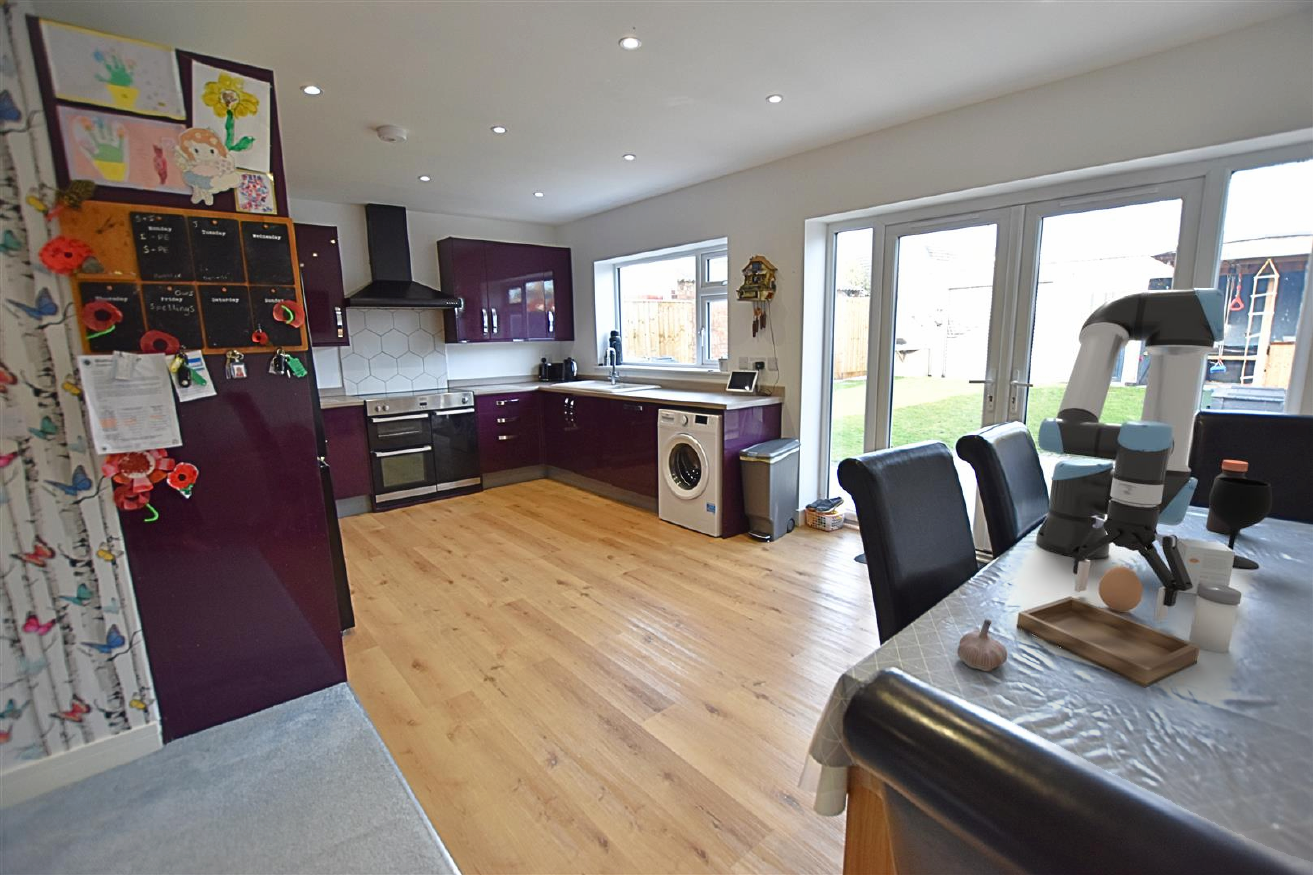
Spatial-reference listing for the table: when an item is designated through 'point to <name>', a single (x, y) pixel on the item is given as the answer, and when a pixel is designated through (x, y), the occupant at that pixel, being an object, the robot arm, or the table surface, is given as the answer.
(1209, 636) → the shaker
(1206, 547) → the small box
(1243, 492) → the wine glass
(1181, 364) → the robot arm
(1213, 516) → the bottle
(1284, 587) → the table surface
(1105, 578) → the egg
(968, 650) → the garlic bulb
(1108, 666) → the tray
